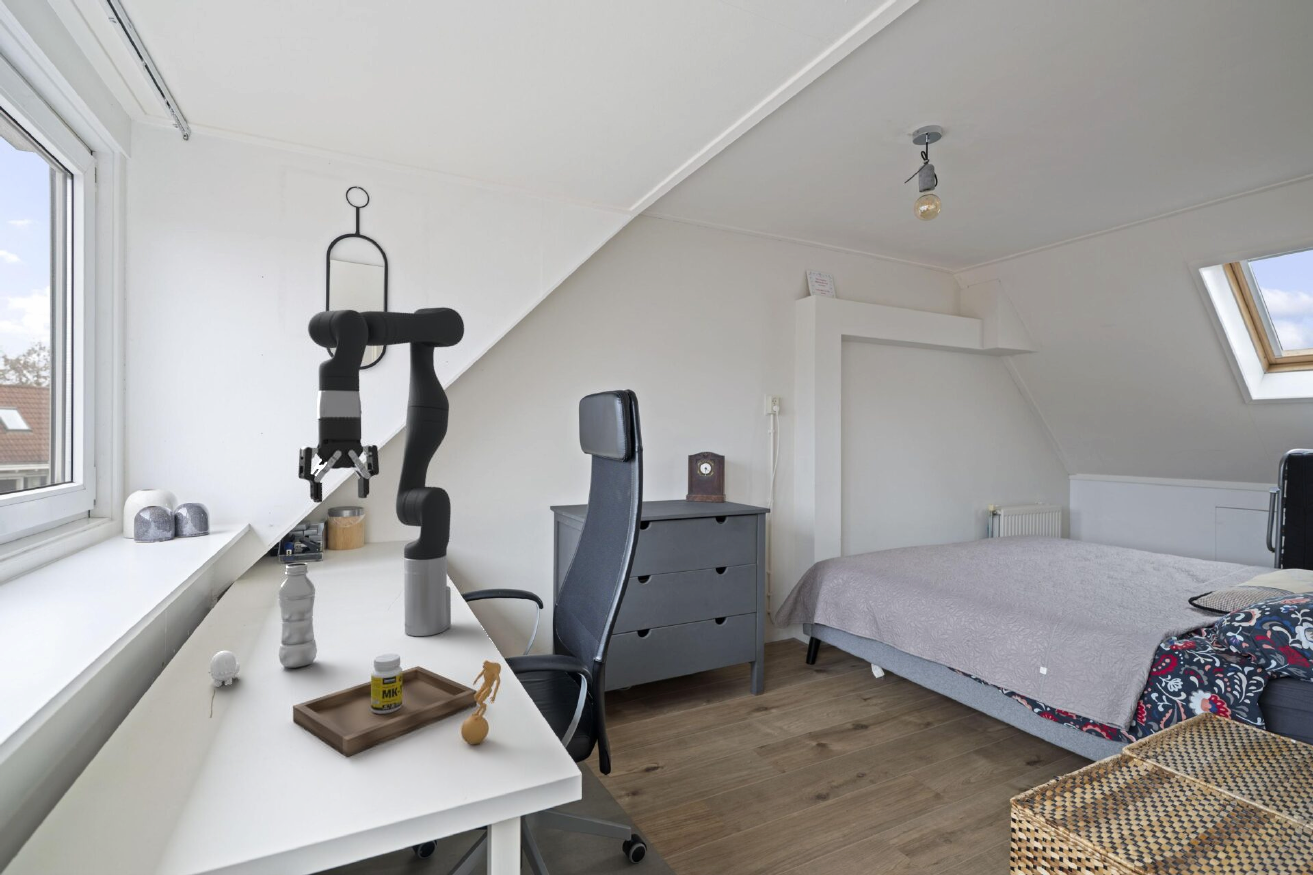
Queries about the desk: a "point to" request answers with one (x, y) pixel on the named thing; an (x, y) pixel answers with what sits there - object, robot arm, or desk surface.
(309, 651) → the plastic bottle
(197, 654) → the desk surface
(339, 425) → the robot arm
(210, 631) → the desk surface
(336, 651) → the desk surface
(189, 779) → the desk surface
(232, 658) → the toy creature
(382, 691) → the supplement bottle
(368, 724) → the walnut tray
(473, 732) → the figurine
